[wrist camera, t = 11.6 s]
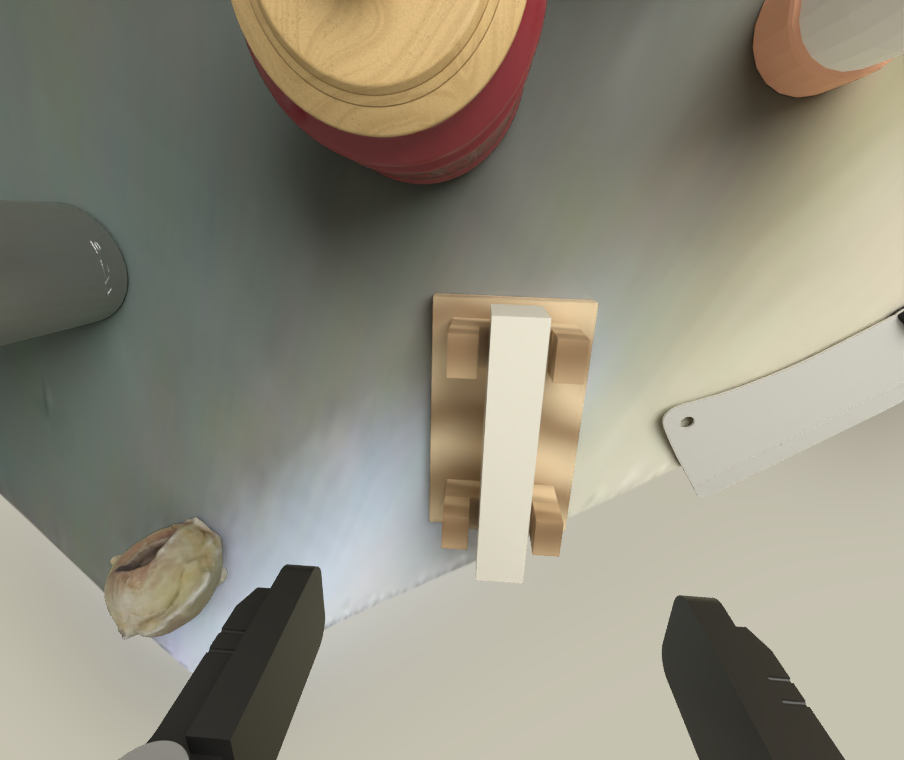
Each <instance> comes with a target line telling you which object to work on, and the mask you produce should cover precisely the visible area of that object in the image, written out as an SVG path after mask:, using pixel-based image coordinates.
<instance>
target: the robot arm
mask: <svg viewBox="0 0 904 760" xmlns="http://www.w3.org/2000/svg"><path fill="white" fill-rule="evenodd" d="M126 291H127V272H126V266H125V263H124V260H123V256H122V254H121V252H120V250H119V248H118V246H117V244H116V242H115V241H114V240H113V238H112V237H111V235H110V234H109V233H108V231H107V230H106V229H105V228H104V227H103V226H102V225H101V224H100V223H99V222H98V221H97V220H95V219H94V218H92V217H91V216H90V215H88V214H87V213H85V212H83V211H81V210H79V209H77V208H75V207H73V206H69V205H65V204H61V203H47V202H27V201H7V200H0V346H4V345H8V344H11V343H15V342H19V341H23V340H27V339H31V338H35V337H39V336H43V335H46V334H50V333H55V332H59V331H63V330H67V329H70V328H74V327H78V326H82V325H86V324H90V323H94V322H98V321H101V320H103V319H105V318H108V317H110V316H111V315H112V314H113V313H114V312H116V311H117V310H118V308H119V307H120V305H121V304H122V302H123V300H124V297H125V294H126ZM324 624H325V611H324V600H323V589H322V577H321V570H320V568H319V567H315V566H301V565H288V564H287V565H285V566H284V567H283V568H282V569H281V571H280V573H279V574H278V576H277V578H276V580H275V581H274V583H273V585H272V586H271V588H256V589H255V590H254V591H253V592H252V593H251V594H249V595H248V596H247V597H246V598H245V599H244V600H243V601H241V602H240V603H239V604H238V605H237V606H236V607H235V609H234V610H233V612H232V613H231V615H230V617H229V618H228V620H227V621H226V623H225V624H224V626H223V627H222V631H221V633H219V634H218V635H217V637H216V638H215V640H214V641H213V643H212V645H211V646H210V649H209V652H208V653H206V654H205V656H204V657H203V659H202V660H201V662H200V663H199V665H198V666H197V668H196V670H195V671H194V673H193V674H192V676H191V678H190V679H189V680H188V682H187V684H186V685H185V687H184V688H183V690H182V692H181V693H180V695H179V696H178V698H177V699H176V701H175V702H174V704H173V705H172V707H171V708H170V710H169V712H168V713H167V715H166V716H165V718H164V719H163V721H162V723H161V724H160V726H159V727H158V729H157V730H156V732H155V733H154V735H153V736H152V737H151V738H150V740H149V741H148V742H147V743H146V744H145V745H142V746H140V747H138V748H136V749H134V750H132V751H130V752H129V753H127V754H126V755H124V756H123V757H121V758H120V759H118V760H276V759H277V756H278V754H279V751H280V749H281V746H282V743H283V741H284V738H285V736H286V733H287V730H288V728H289V725H290V722H291V720H292V717H293V715H294V712H295V710H296V707H297V704H298V702H299V699H300V696H301V694H302V691H303V688H304V686H305V683H306V681H307V678H308V676H309V673H310V670H311V668H312V665H313V663H314V660H315V657H316V655H317V652H318V650H319V647H320V644H321V640H322V636H323V631H324ZM662 661H663V667H664V672H665V675H666V678H667V680H668V683H669V685H670V688H671V690H672V693H673V695H674V698H675V700H676V703H677V705H678V708H679V710H680V713H681V715H682V718H683V720H684V723H685V725H686V728H687V730H688V733H689V735H690V738H691V740H692V742H693V745H694V748H695V750H696V753H697V755H698V758H699V760H845V759H844V757H843V756H842V754H841V753H840V752H839V750H838V749H837V747H836V746H835V744H834V743H833V741H832V740H831V738H830V737H829V735H828V734H827V732H826V731H825V729H824V728H823V726H822V725H821V723H820V722H819V720H818V719H817V718H816V716H815V714H814V713H813V711H812V710H811V709H810V707H807V706H806V704H805V700H804V698H803V697H802V695H801V694H800V692H799V691H798V689H797V688H796V686H795V685H794V683H791V682H790V677H789V676H788V674H787V673H786V672H785V670H784V668H783V667H782V666H781V664H780V663H779V661H778V660H777V658H776V657H775V655H774V654H773V652H772V651H771V650H770V649H769V648H768V647H767V646H766V645H765V644H764V643H762V642H761V641H760V640H759V639H758V638H757V637H756V636H755V635H754V634H753V633H752V632H751V631H750V630H748V629H747V628H746V627H736V626H735V625H734V623H733V621H732V620H731V618H730V616H729V615H728V613H727V612H726V610H725V608H724V607H723V606H722V604H721V603H720V602H719V601H718V600H717V599H715V598H706V597H692V596H677V597H676V598H675V600H674V603H673V607H672V611H671V615H670V618H669V622H668V626H667V629H666V633H665V637H664V641H663V645H662Z"/></svg>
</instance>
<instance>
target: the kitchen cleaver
mask: <svg viewBox="0 0 904 760" xmlns="http://www.w3.org/2000/svg"><path fill="white" fill-rule="evenodd" d="M903 401H904V307H903V308H901V309H899V310H897V311H896V312H894V313H893V314H892V316H891V317H889V318H887V319H885V320H883V321H881V322H879V323H877V324H875V325H873V326H871V327H869V328H867V329H865V330H863V331H861V332H859V333H857V334H855V335H853V336H851V337H849V338H847V339H845V340H843V341H842V342H840V343H838V344H836V345H834V346H832V347H830V348H828V349H826V350H824V351H822V352H820V353H818V354H816V355H814V356H812V357H809V358H807V359H805V360H803V361H801V362H799V363H797V364H794V365H792V366H790V367H788V368H785V369H783V370H781V371H778V372H776V373H773V374H771V375H768V376H766V377H763V378H761V379H758V380H755V381H753V382H750V383H748V384H745V385H742V386H739V387H737V388H734V389H731V390H728V391H725V392H722V393H719V394H716V395H712V396H709V397H705V398H702V399H698V400H695V401H691V402H687V403H684V404H681V405H678V406H675V407H673V408H671V409H669V410H668V411H667V412H666V413H665V414H664V415H663V418H662V424H663V428H664V430H665V433H666V435H667V438H668V440H669V442H670V444H671V447H672V449H673V451H674V453H675V455H676V457H677V459H678V461H679V463H680V464H681V466H682V468H683V470H684V471H685V473H686V475H687V476H688V479H689V480H690V482H691V485H692V487H693V489H694V491H695V493H696V495H697V496H698V497H699V498H700V499H703V498H706V497H707V496H710V495H712V494H714V493H716V492H719V491H721V490H723V489H725V488H727V487H729V486H732V485H734V484H736V483H738V482H740V481H742V480H744V479H746V478H749V477H751V476H753V475H754V474H757V473H758V472H761V471H762V470H765V469H767V468H769V467H771V466H773V465H775V464H777V463H779V462H781V461H783V460H785V459H787V458H789V457H791V456H793V455H795V454H797V453H799V452H801V451H803V450H805V449H808V448H809V447H811V446H814V445H815V444H818V443H820V442H822V441H824V440H825V439H828V438H829V437H832V436H834V435H835V434H838V433H840V432H842V431H844V430H846V429H848V428H850V427H852V426H854V425H856V424H858V423H860V422H862V421H865V420H867V419H869V418H871V417H873V416H875V415H877V414H879V413H881V412H883V411H885V410H887V409H889V408H891V407H893V406H895V405H897V404H899V403H901V402H903ZM685 417H692V418H693V422H692V424H691V425H689V426H687V427H682V426H681V425H680V423H681V421H682V419H684V418H685Z"/></svg>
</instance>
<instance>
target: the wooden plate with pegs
mask: <svg viewBox="0 0 904 760" xmlns="http://www.w3.org/2000/svg"><path fill="white" fill-rule="evenodd" d="M491 304H506V305H531V306H543V307H544V309H545V310H546V311H547V313H548V314H549V316H550V317H551V327H550V336H549V345H548V355H547V364H546V373H545V383H544V392H543V401H542V410H541V420H540V429H539V438H538V447H537V457H536V466H535V475H534V485H533V494H532V503H531V512H530V522H529V531H528V533H529V534H530V541H531V546H532V554H533V555H544V556H559V553H560V546H561V539H562V533H563V531H565V527H566V520H567V513H568V507H569V500H570V493H571V486H572V479H573V472H574V466H575V459H576V452H577V445H578V438H579V432H580V425H581V418H582V411H583V404H584V397H585V391H586V384H587V377H588V370H589V363H590V356H591V350H592V343H593V336H594V329H595V322H596V316H597V309H598V303H597V302H595V301H594V300H582V299H558V298H535V297H512V296H488V295H465V294H441V293H435V294H434V296H433V333H432V391H431V449H430V506H429V521H433V522H442V545H441V548H447V549H461V550H467V546H468V529H477V526H478V509H479V492H480V475H481V458H482V441H483V425H484V408H485V391H486V374H487V357H488V340H489V323H490V306H491Z"/></svg>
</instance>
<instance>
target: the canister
mask: <svg viewBox="0 0 904 760" xmlns="http://www.w3.org/2000/svg"><path fill="white" fill-rule="evenodd" d="M231 2H232V5H233V8H234V11H235V14H236V17H237V20H238V22H239V25H240V27H241V29H242V32H243V34H244V37H245V40H246V43H247V46H248V49H249V51H250V54H251V56H252V59H253V61H254V63H255V65H256V68H257V70H258V72H259V74H260V76H261V77H262V79H263V81H264V83H265V85H266V86H267V88H268V89H269V91H270V93H271V94H272V96H273V97H274V99H275V100H276V101H277V103H278V104H279V105H280V107H281V108H282V109H283V110H284V111H285V113H286V114H287V115H288V116H289V117H290V118H291V119H292V120H293V121H294V122H295V123H296V124H297V126H299V127H300V128H301V129H302V130H303V131H304V132H305V133H306V134H308V135H309V136H310V137H312V138H313V139H314V140H316V141H317V142H318V143H320V144H321V145H323V146H325V147H326V148H328V149H330V150H332V151H333V152H335V153H337V154H339V155H342V156H344V157H346V158H349V159H351V160H352V161H354V162H356V163H358V164H361V165H363V166H365V167H368V168H371V169H373V170H374V171H376V172H378V173H380V174H382V175H384V176H386V177H389V178H391V179H394V180H397V181H401V182H405V183H410V184H436V183H441V182H445V181H449V180H452V179H454V178H457V177H459V176H461V175H464V174H465V173H467V172H469V171H471V170H472V169H474V168H475V167H476V166H478V165H479V164H480V163H482V162H483V161H484V160H485V159H486V158H487V157H488V156H489V155H490V154H491V153H492V152H493V151H494V150H495V149H496V147H497V146H498V145H499V143H500V142H501V141H502V139H503V138H504V136H505V135H506V133H507V131H508V129H509V128H510V126H511V123H512V121H513V119H514V117H515V114H516V112H517V109H518V106H519V103H520V100H521V96H522V92H523V88H524V84H525V82H526V79H527V76H528V73H529V70H530V67H531V64H532V60H533V57H534V54H535V51H536V48H537V45H538V42H539V39H540V35H541V31H542V27H543V23H544V17H545V12H546V5H547V0H231Z"/></svg>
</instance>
